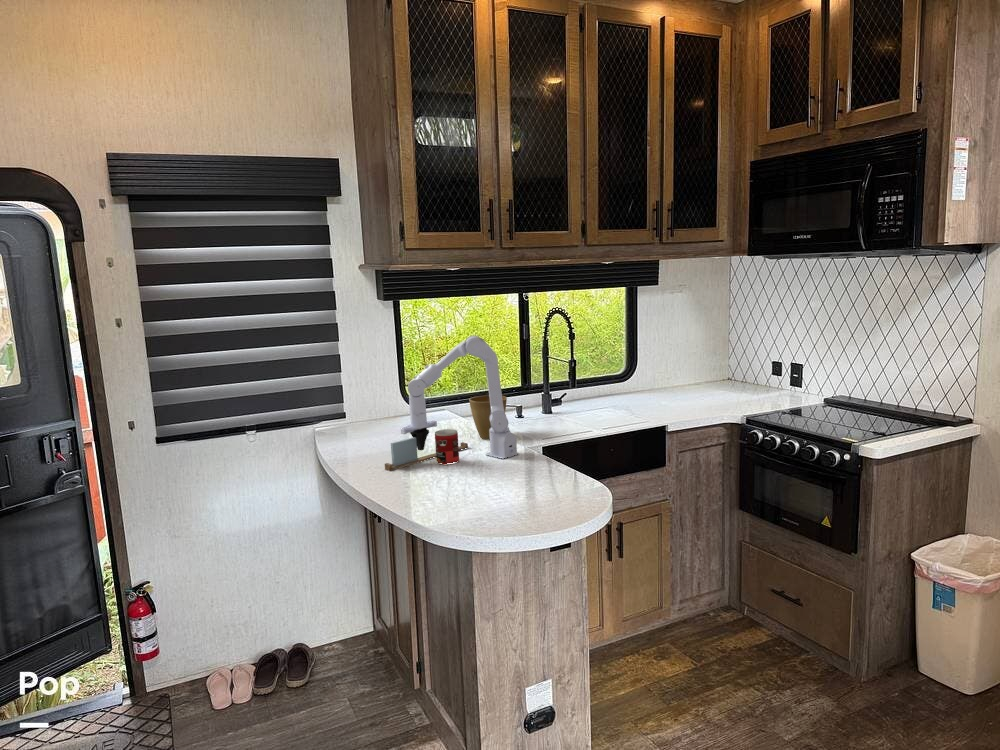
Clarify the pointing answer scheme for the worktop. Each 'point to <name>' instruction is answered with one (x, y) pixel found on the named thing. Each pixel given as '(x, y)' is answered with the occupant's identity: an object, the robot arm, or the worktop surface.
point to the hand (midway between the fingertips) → (420, 449)
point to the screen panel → (404, 451)
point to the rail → (420, 459)
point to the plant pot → (483, 414)
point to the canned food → (447, 446)
